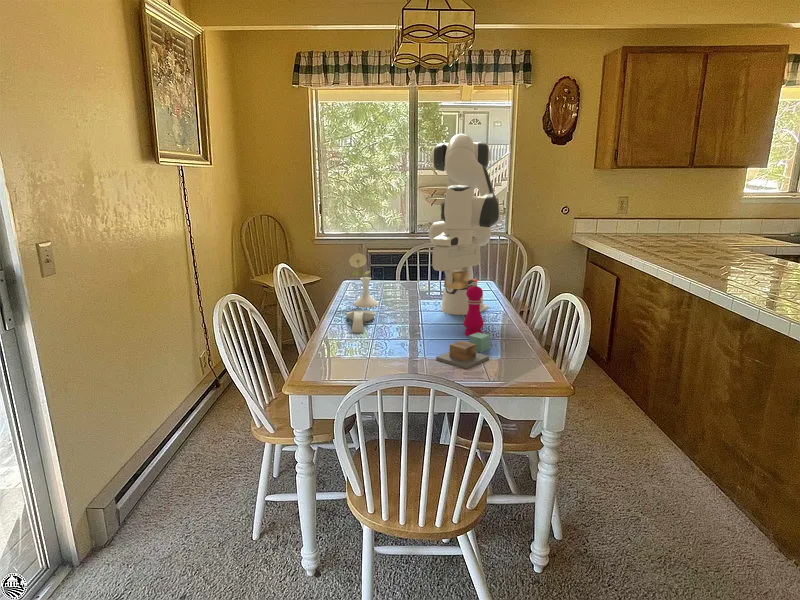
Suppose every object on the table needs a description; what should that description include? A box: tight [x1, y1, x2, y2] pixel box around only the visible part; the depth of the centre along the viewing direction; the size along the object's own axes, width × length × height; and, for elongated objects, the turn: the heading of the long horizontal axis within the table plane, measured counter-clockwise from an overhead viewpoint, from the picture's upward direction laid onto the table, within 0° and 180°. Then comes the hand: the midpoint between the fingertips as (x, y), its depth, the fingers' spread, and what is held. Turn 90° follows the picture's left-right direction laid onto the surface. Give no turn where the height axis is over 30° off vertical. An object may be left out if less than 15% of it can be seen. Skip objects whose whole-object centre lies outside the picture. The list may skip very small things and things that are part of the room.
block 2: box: [468, 332, 491, 354], centre depth 171 cm, size 5×5×5 cm
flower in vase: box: [348, 252, 379, 308], centre depth 224 cm, size 13×11×25 cm
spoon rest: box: [346, 310, 377, 333], centre depth 199 cm, size 24×12×7 cm, turn 1°
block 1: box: [445, 270, 468, 289], centre depth 160 cm, size 5×5×5 cm
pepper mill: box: [463, 282, 484, 338], centre depth 185 cm, size 7×7×20 cm
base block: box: [449, 340, 477, 361], centre depth 161 cm, size 6×6×4 cm
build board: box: [435, 351, 490, 370], centre depth 162 cm, size 12×12×1 cm
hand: (456, 282), depth 160 cm, fingers closed on block 1, 5 cm apart
